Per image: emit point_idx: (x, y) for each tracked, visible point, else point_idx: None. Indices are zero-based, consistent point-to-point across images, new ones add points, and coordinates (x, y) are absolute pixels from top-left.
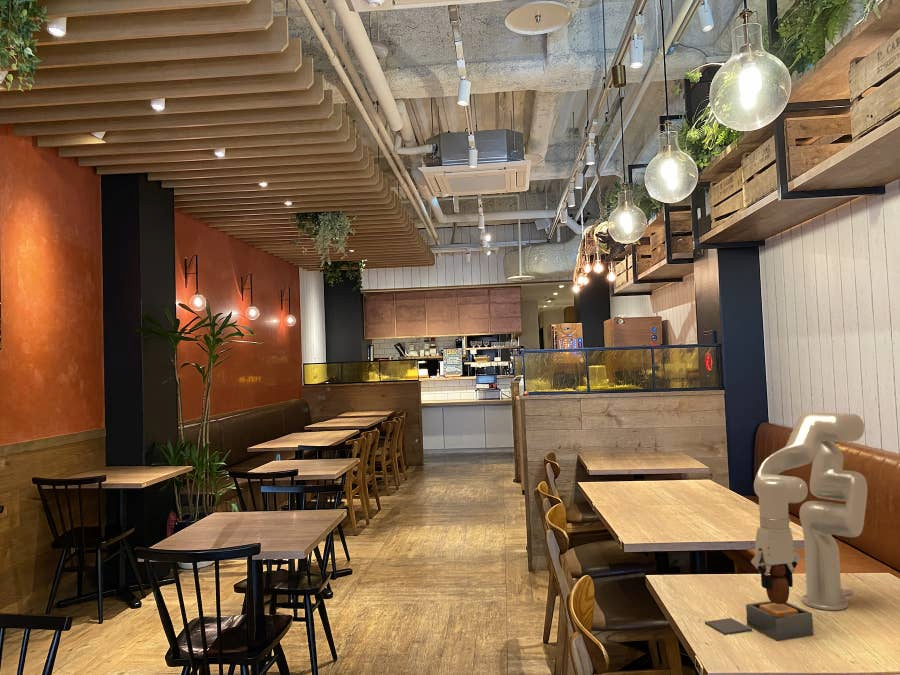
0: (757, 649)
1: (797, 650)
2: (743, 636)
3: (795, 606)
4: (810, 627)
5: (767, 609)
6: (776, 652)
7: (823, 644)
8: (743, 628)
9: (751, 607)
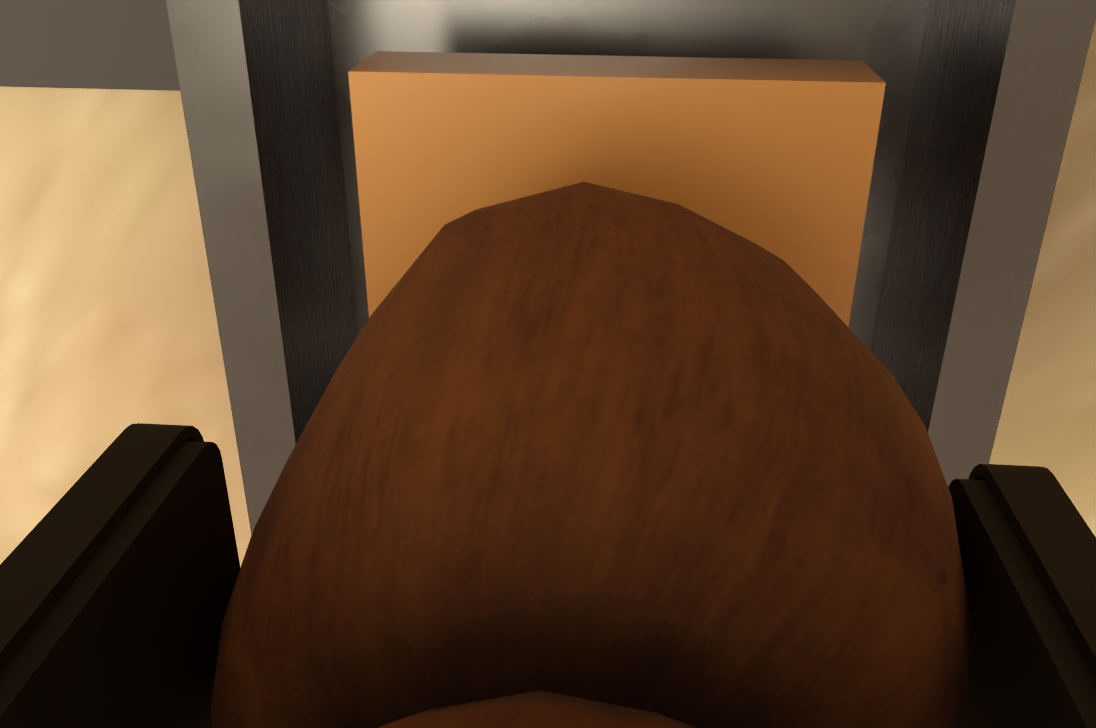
0: (27, 516)
1: None
2: (42, 194)
3: (997, 337)
4: None
5: (370, 295)
6: None
7: None
8: (121, 34)
9: (177, 47)
